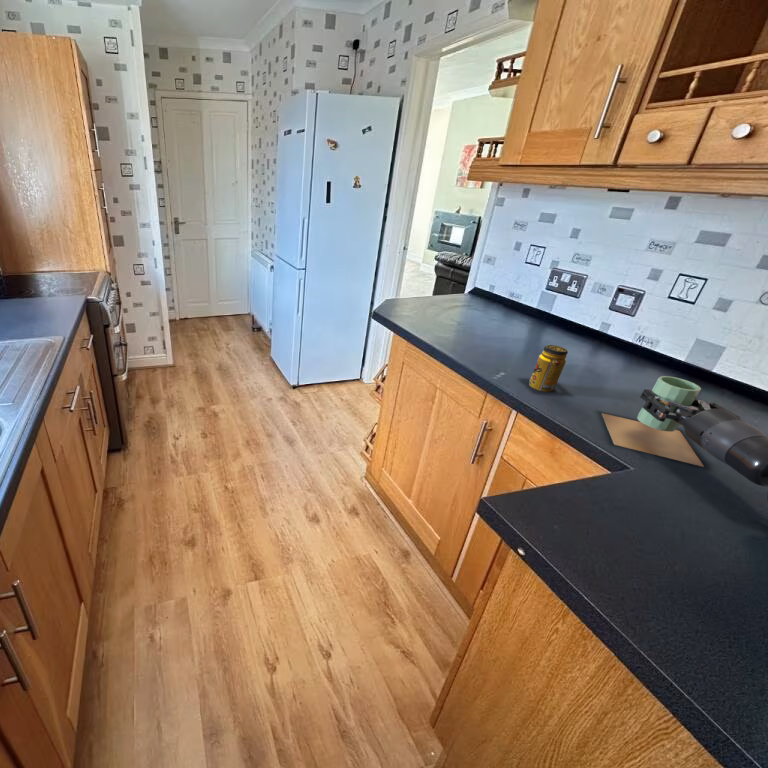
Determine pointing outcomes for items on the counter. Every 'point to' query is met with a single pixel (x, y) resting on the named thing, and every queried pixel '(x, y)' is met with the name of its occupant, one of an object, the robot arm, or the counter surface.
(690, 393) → the cup
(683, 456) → the mat
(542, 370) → the condiment
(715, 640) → the counter surface
